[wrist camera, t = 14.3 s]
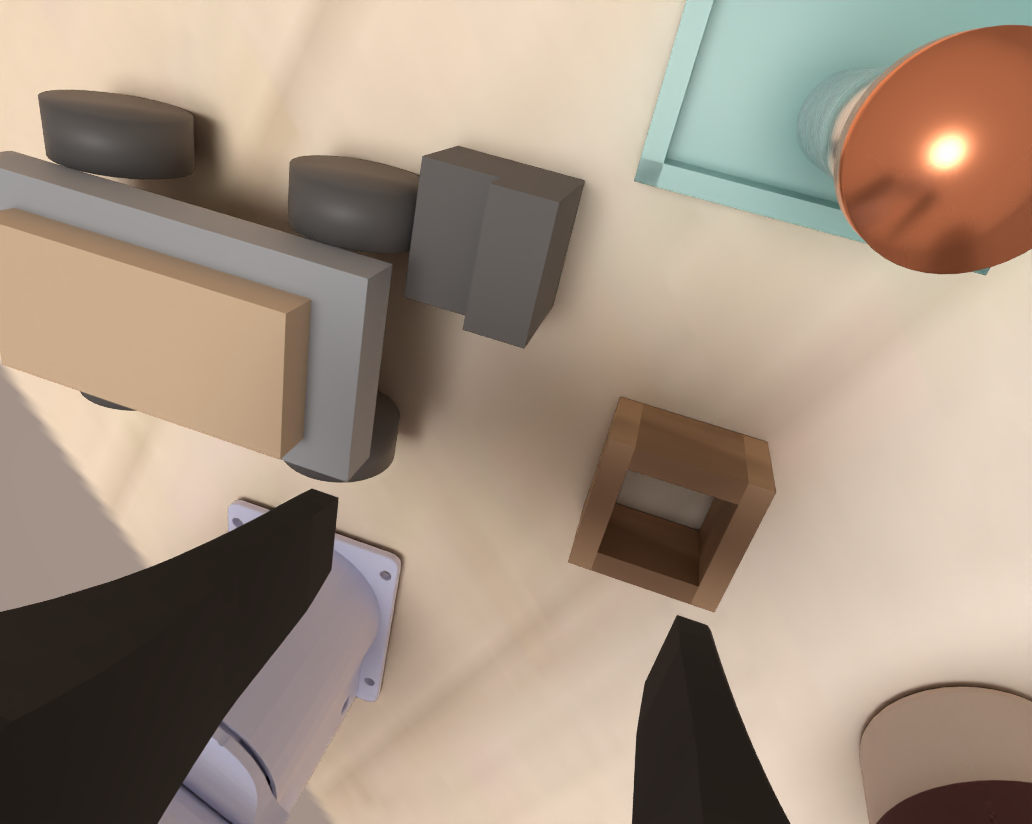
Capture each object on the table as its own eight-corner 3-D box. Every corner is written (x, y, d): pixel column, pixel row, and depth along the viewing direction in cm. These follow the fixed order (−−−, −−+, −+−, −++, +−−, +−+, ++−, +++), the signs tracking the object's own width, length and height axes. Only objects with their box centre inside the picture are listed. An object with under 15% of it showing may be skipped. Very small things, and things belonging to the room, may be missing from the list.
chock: (553, 304, 21) (524, 348, 18) (439, 270, 22) (389, 307, 18) (585, 180, 19) (559, 202, 16) (459, 145, 20) (407, 160, 16)
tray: (960, 257, 18) (985, 275, 16) (639, 172, 19) (634, 181, 17) (1134, -50, 14) (1187, -65, 13) (729, -133, 15) (732, -157, 14)
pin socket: (713, 554, 24) (714, 612, 21) (582, 511, 25) (567, 562, 22) (767, 442, 22) (776, 492, 19) (620, 396, 22) (609, 439, 20)
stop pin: (880, 201, 17) (1021, 301, 10) (760, 169, 18) (804, 240, 10) (945, 68, 16) (1176, 60, 8) (813, 34, 16) (914, -3, 8)
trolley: (451, 182, 20) (350, 224, 15) (411, 438, 25) (323, 547, 19) (112, 88, 22) (-101, 93, 16) (135, 347, 26) (-24, 423, 21)
